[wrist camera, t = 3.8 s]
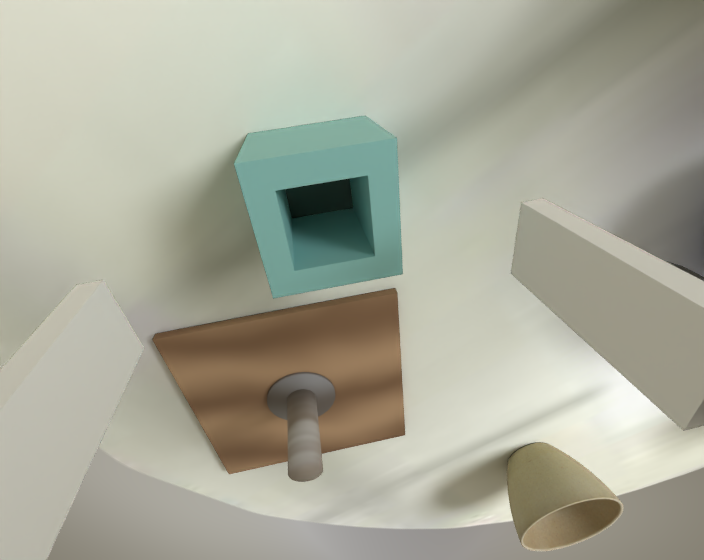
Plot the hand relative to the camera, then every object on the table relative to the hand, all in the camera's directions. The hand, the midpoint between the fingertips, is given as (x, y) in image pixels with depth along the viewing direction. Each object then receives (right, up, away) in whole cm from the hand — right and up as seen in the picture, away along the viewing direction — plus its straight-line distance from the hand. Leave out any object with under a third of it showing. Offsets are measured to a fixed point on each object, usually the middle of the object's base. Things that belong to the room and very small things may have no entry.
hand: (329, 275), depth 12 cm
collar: (-1, +5, +8) cm, 10 cm away
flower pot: (+20, -20, +28) cm, 40 cm away
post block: (-3, -9, +16) cm, 19 cm away
